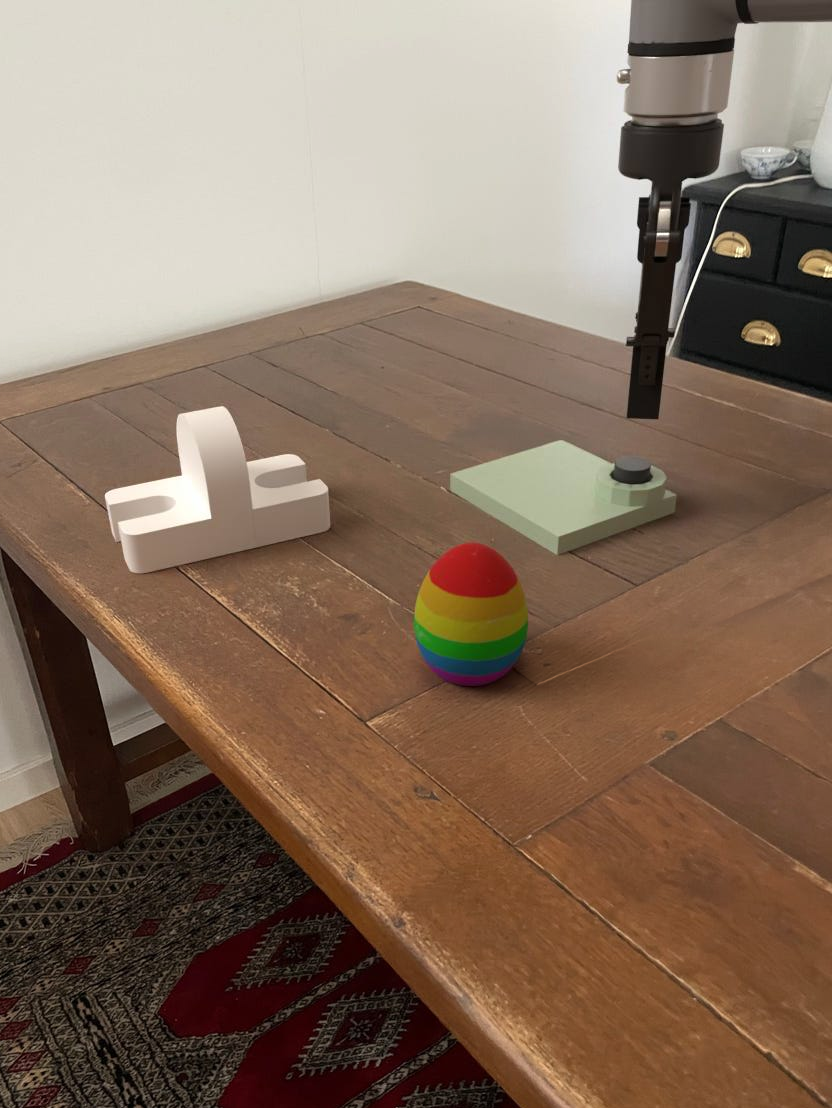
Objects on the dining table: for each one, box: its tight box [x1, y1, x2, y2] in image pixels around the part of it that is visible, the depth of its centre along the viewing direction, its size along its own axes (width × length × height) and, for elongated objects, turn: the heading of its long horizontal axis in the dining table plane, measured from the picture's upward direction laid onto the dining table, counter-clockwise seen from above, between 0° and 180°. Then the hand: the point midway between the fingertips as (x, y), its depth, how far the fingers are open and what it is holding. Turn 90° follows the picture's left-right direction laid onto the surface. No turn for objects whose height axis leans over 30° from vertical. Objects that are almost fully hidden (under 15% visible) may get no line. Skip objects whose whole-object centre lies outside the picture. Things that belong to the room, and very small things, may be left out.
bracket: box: [104, 405, 331, 574], centre depth 93 cm, size 19×10×11 cm, turn 112°
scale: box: [449, 439, 678, 556], centre depth 97 cm, size 16×14×4 cm
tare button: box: [613, 456, 652, 485], centre depth 93 cm, size 3×3×2 cm
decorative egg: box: [413, 541, 529, 687], centre depth 73 cm, size 8×8×10 cm
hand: (642, 415), depth 90 cm, fingers closed
